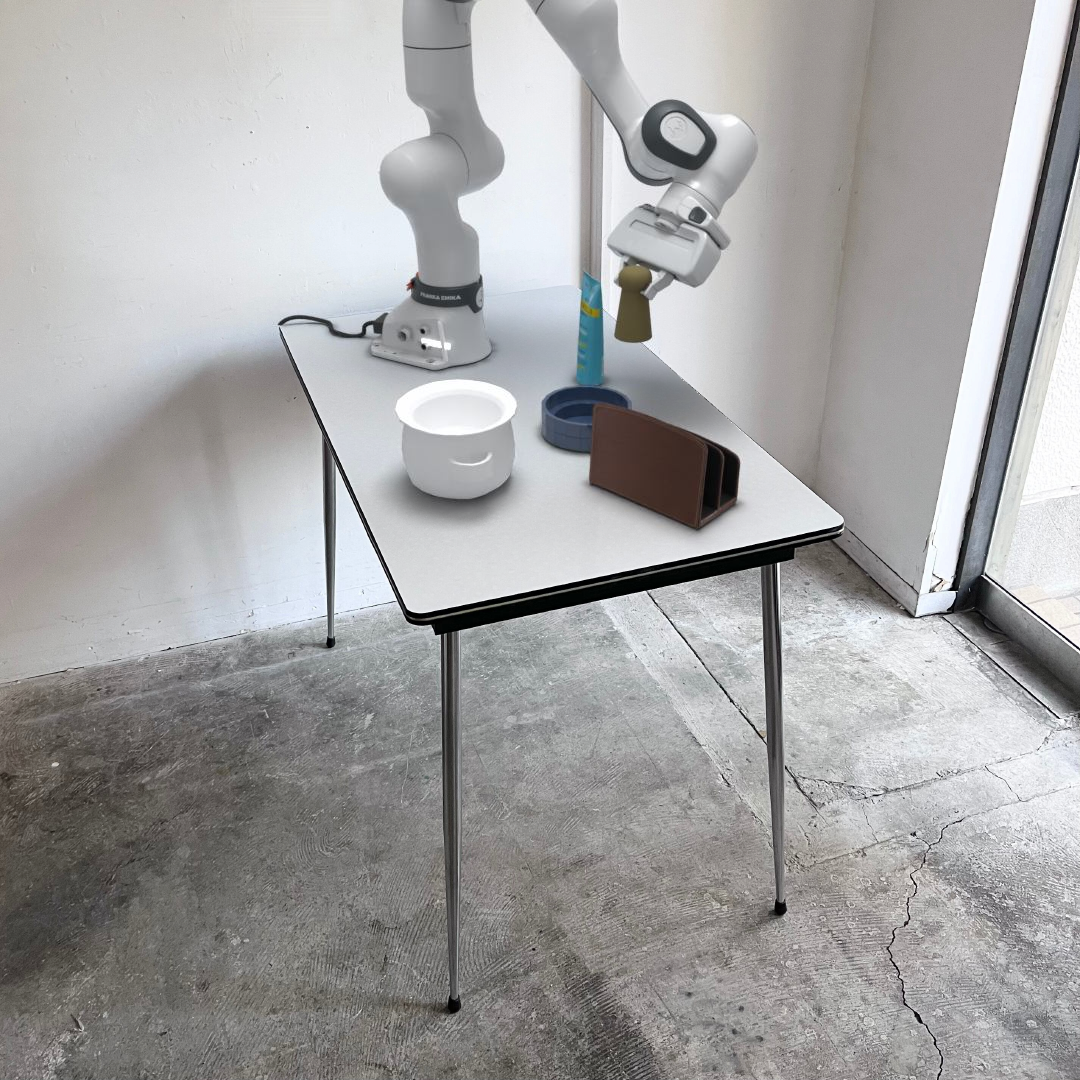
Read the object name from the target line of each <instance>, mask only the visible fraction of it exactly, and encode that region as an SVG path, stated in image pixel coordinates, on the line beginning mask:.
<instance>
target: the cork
mask: <svg viewBox="0 0 1080 1080" xmlns="http://www.w3.org/2000/svg"><path fill="white" fill-rule="evenodd" d="M618 273H619V272H618ZM618 282H619V286H620V287H619V286H618V287H619V288H620V289H621V290H620V295H619V296H620V297H619V301H618V309H617V315H616V321H615V326H614V333H613V338H615V339H616V340H617V341H620V342H622V343H628V344H639V343H641V344H642V343H645V342H648V341H650V340H651V339H653V330H652V329H653V328H652V319H651V308H650V300H648V299H646V298H644V297H643V296H642V295H641V294H640V292H641V290H642V289H643V287H644V286H645V284H646V283H647V284H649V285H650V283H652V282H653V274H652V270H650V269H648V268H646V267H644V266H640V265H638V264H637V265H631V266H626V267H624V268H622V270H621V271H620V273H619V276H618Z"/></svg>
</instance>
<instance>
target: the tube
mask: <svg viewBox="0 0 1080 1080" xmlns="http://www.w3.org/2000/svg"><path fill="white" fill-rule="evenodd" d="M582 271H583V274H582V284H581V293H580V305H579V320H578V321H579V322H578V336H577V337H578V338H577V355H576V356H577V357H576V359H577V360H576V378H575V379H576V383H578V384H579V385H595V386H600V385H602V384H603V383H604V381H605V348H604V346H605V345H604V343H605V341H604V340H605V339H604V304H603V303H604V302H603V290H602V282H601V281H600V280H598V279H597V278H596V277H595V278H594V277H593V276H592V275H590V274H589V273H588V272H587V271H586V270H585V269H584V268H582Z"/></svg>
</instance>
